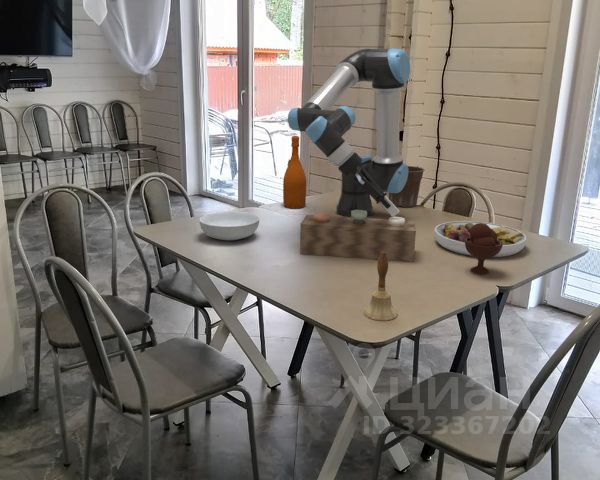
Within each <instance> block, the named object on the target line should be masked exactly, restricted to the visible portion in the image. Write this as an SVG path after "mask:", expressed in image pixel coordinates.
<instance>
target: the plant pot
mask: <svg viewBox="0 0 600 480" xmlns="http://www.w3.org/2000/svg"><path fill="white" fill-rule="evenodd" d="M407 166H408V178H407V181H406V184H405V186H404V188H403V189H402V190H401V191H400V192H399V193H388V199H389V200H390V201H391V202H392V203H393V204H394V205H395V206H396V208H397V207H398V208H399V207H402V208H413V207H416V206H417V204H418V198H419V192H420V188H421V182H422V179H423V175H424V172H425V168H423V167H419V166H415V165H414V166H413V165H407Z"/></svg>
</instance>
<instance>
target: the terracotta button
mask: <svg viewBox="0 0 600 480" xmlns="http://www.w3.org/2000/svg"><path fill="white" fill-rule="evenodd" d="M313 215H314V221H316V222H328V221H329V220H330V216H331V214H330V213H328V212H324V211H323V212H321V211H320V212H315V213H313Z"/></svg>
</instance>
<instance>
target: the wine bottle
mask: <svg viewBox="0 0 600 480" xmlns="http://www.w3.org/2000/svg"><path fill="white" fill-rule="evenodd" d="M290 146H291V148H292V149H291V156H290V159H288V161H287V167H286V169H285V172H284V176H283V181H282V183H283V185H282V193H283V194H282V195H283V196H282V198H283V199H282V200H283V206H284V207H285V208H288V209H289V208H290V209H302V208H304V207H305V206H306V202H307V176H306V173H305V170H304V167H303V165H302V163H301V159H300V156H299V155H300V154H299V152H300V151H299V150H300V149H299V148H300V136H298V135H293V136H291V145H290Z"/></svg>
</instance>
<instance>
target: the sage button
mask: <svg viewBox="0 0 600 480" xmlns="http://www.w3.org/2000/svg"><path fill="white" fill-rule="evenodd" d="M351 218H353V219H354V224H364V219H367V218H368V216H367V211H365V210H352V211H351Z"/></svg>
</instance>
